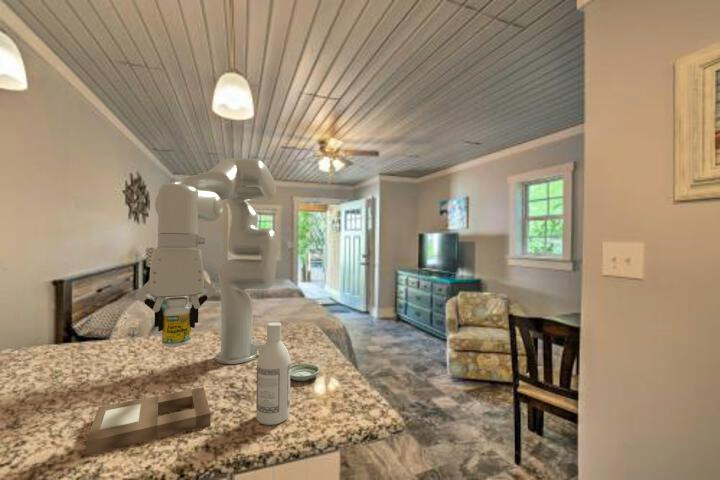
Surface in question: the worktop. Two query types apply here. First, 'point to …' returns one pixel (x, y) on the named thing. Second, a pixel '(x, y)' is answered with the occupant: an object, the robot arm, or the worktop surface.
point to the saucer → (303, 371)
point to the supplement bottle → (176, 322)
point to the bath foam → (273, 379)
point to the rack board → (147, 420)
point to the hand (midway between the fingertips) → (176, 327)
